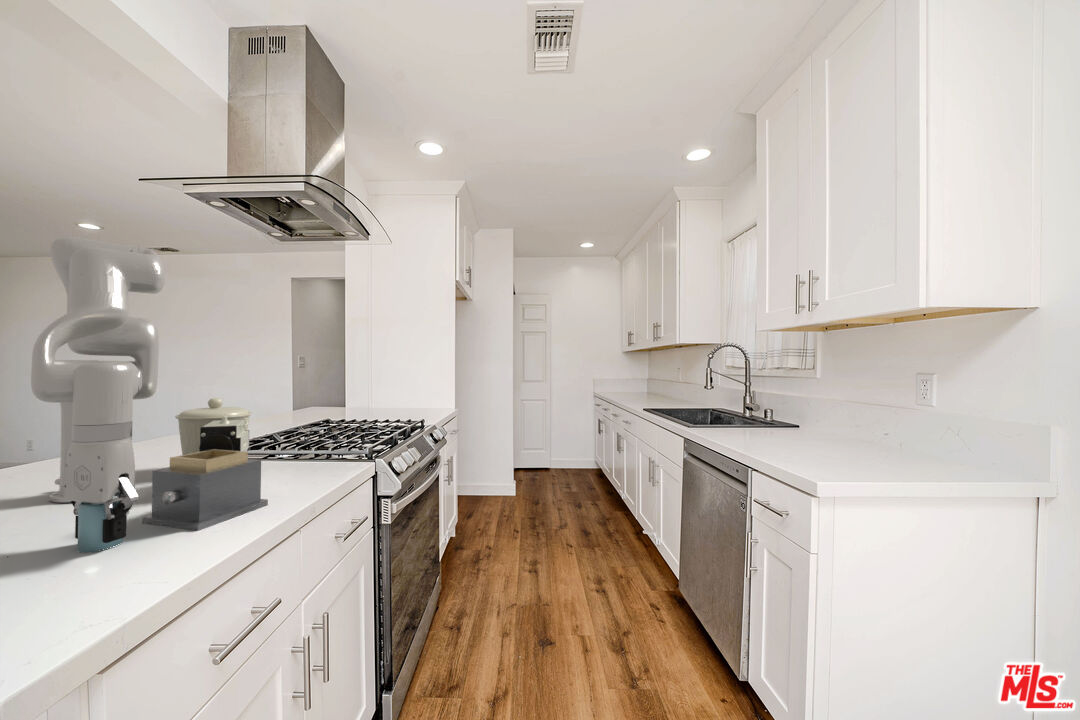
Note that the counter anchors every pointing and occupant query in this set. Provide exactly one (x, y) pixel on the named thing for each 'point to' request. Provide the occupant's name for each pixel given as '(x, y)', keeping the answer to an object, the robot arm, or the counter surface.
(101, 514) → the drain pump
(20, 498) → the counter surface
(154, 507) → the grey box
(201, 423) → the canister
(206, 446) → the cream boxy piece
